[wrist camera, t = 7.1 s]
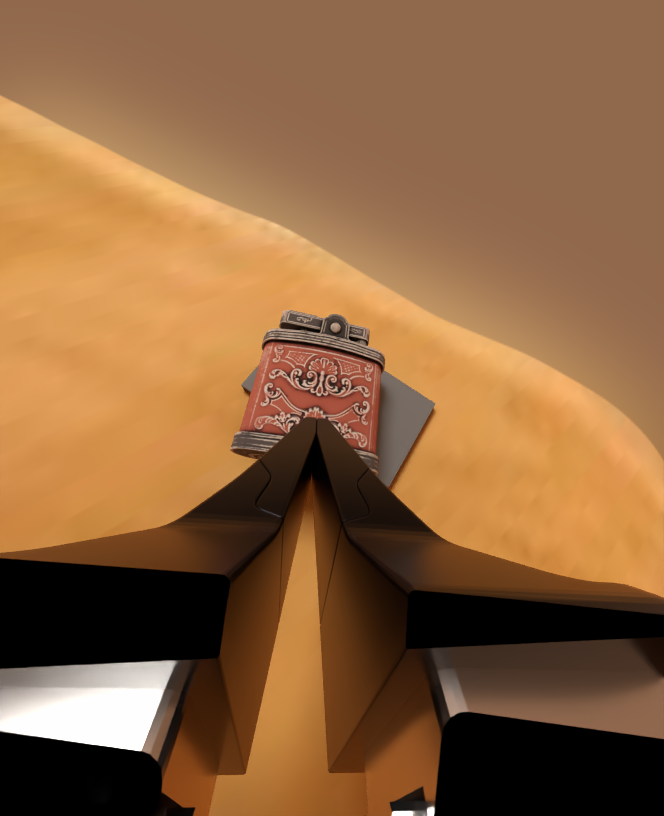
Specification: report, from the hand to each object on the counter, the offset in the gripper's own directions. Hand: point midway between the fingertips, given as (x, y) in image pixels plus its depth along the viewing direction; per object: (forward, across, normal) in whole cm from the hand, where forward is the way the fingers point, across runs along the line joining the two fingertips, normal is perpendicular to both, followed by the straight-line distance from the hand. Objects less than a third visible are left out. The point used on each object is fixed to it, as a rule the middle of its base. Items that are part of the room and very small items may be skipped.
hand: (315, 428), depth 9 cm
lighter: (+3, 0, +4) cm, 5 cm away
